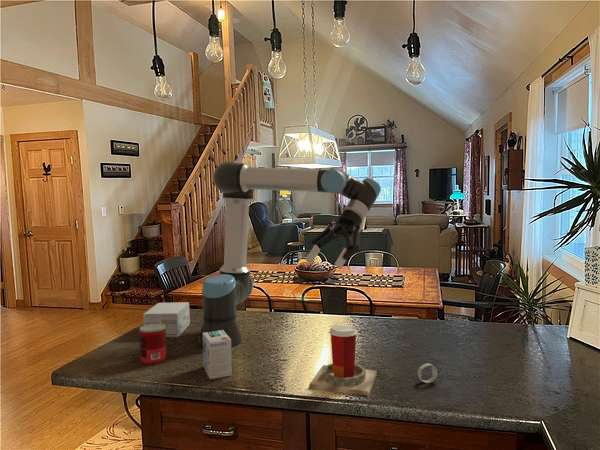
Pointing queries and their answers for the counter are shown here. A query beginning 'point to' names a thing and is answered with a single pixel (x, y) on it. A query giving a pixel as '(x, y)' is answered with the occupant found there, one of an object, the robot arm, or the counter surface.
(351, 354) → the paper cup
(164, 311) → the supplement box
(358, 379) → the cup holder
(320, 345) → the counter surface
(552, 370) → the counter surface
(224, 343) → the light bulb box
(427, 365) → the grey ring
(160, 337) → the canned food
